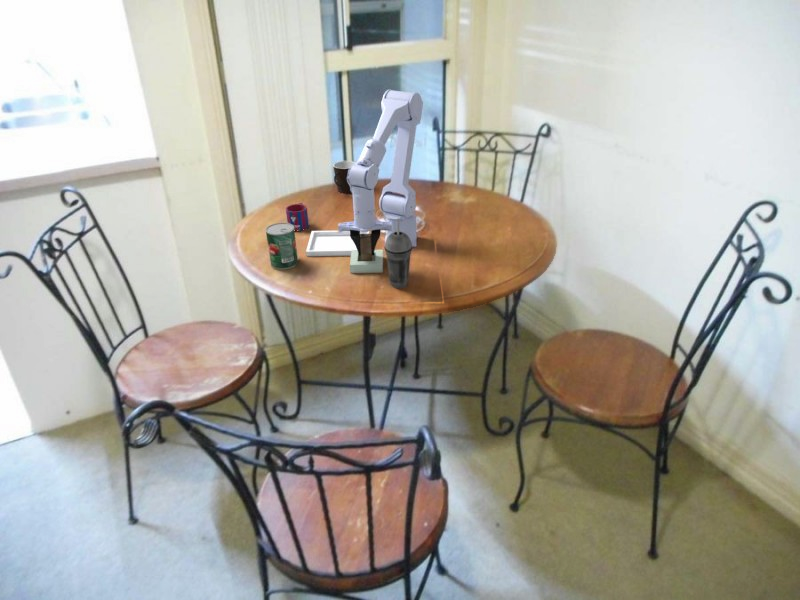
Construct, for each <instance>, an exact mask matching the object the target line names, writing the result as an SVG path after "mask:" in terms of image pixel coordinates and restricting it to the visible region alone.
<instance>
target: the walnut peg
mask: <svg viewBox="0 0 800 600" xmlns="http://www.w3.org/2000/svg"><path fill="white" fill-rule="evenodd" d="M360 249H361V261H372V241H371V233H369V234H360Z"/></svg>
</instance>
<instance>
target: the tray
mask: <svg viewBox="0 0 800 600" xmlns="http://www.w3.org/2000/svg"><path fill="white" fill-rule="evenodd" d="M360 234H370V231H368V232H361V231H360ZM352 250H357V248H356V246H355V244H354V242H353V240H352V239H351V237H350V231H343V232H339V231H338V230H311V232H310V236H309V240H308V243H307V247H306V250H305V256H306V257H337V256H341V257H342V256H343V257H344V256H345V257H346V256H349V257H351V251H352Z"/></svg>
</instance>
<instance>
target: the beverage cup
mask: <svg viewBox="0 0 800 600" xmlns="http://www.w3.org/2000/svg"><path fill="white" fill-rule="evenodd" d="M412 250H413V247H412V243H411V240H410V238H409V236H408V235H407V234H405V233H403V232H399V218H397V232H394V233H391V234H390V235H389V236H388V237H387V239H386V242H385V241H384V251H385V255H386V261H387V262H386V263H387V269H388V277H389V284H390V286H391V287H392V288H395V289H405V288H407V286H408V284H409V274H410V262H411V256H412Z"/></svg>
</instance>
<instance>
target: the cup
mask: <svg viewBox="0 0 800 600" xmlns="http://www.w3.org/2000/svg"><path fill="white" fill-rule="evenodd" d="M285 214H286V223H289V224H292V225H293V226H294V230H295V231H297V230H303V229H306V228H308V229H309V227H310V225H309V216H308V215H309V214H308V207H307V205H305V204H304V203H303V202H299V203H293V204H290V205H287V206H286V207H285ZM306 230H307V229H306ZM295 231H294V232H295Z"/></svg>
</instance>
